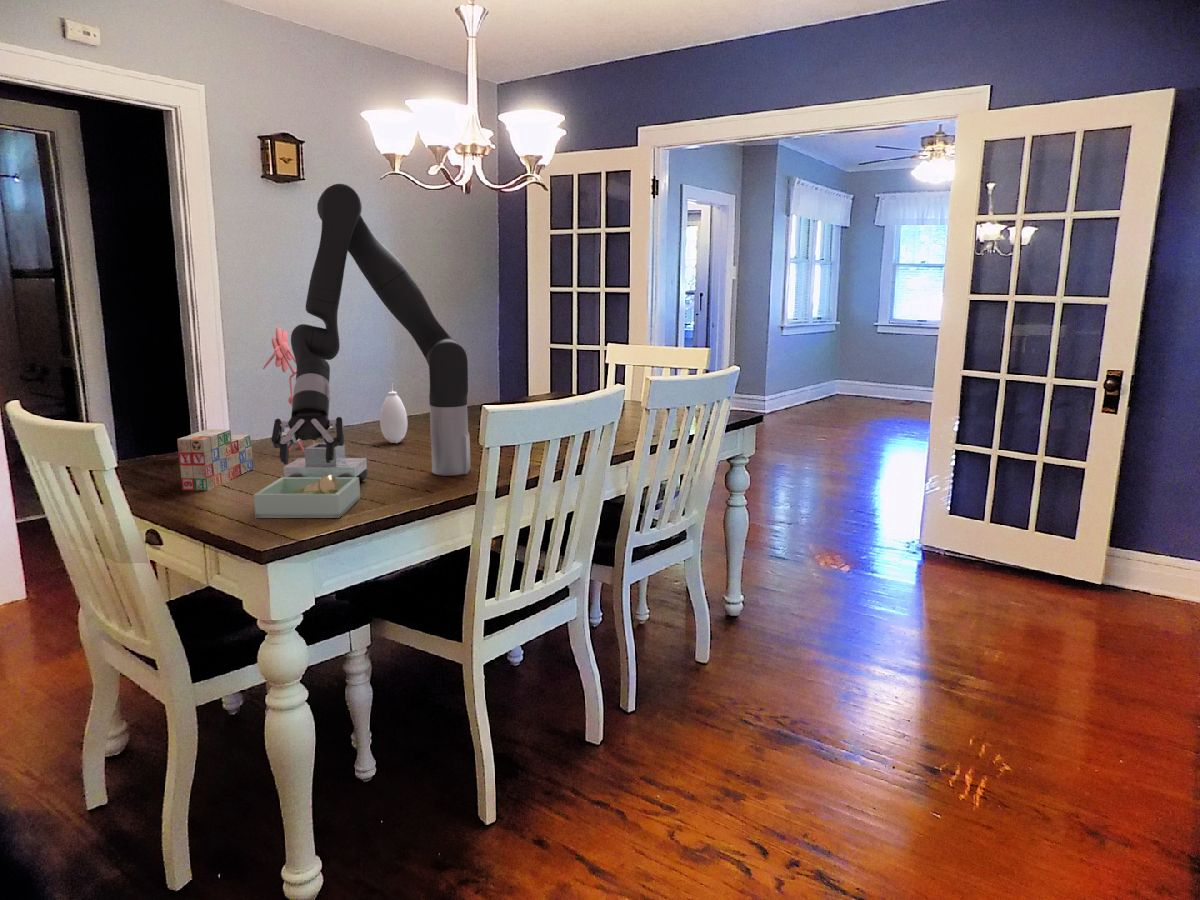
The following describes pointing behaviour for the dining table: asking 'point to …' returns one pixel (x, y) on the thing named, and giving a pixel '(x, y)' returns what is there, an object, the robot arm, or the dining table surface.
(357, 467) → the trolley
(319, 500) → the tray
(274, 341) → the figurine
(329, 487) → the pin
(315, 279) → the robot arm
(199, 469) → the stack of blocks
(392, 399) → the sauce bottle
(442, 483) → the dining table surface
